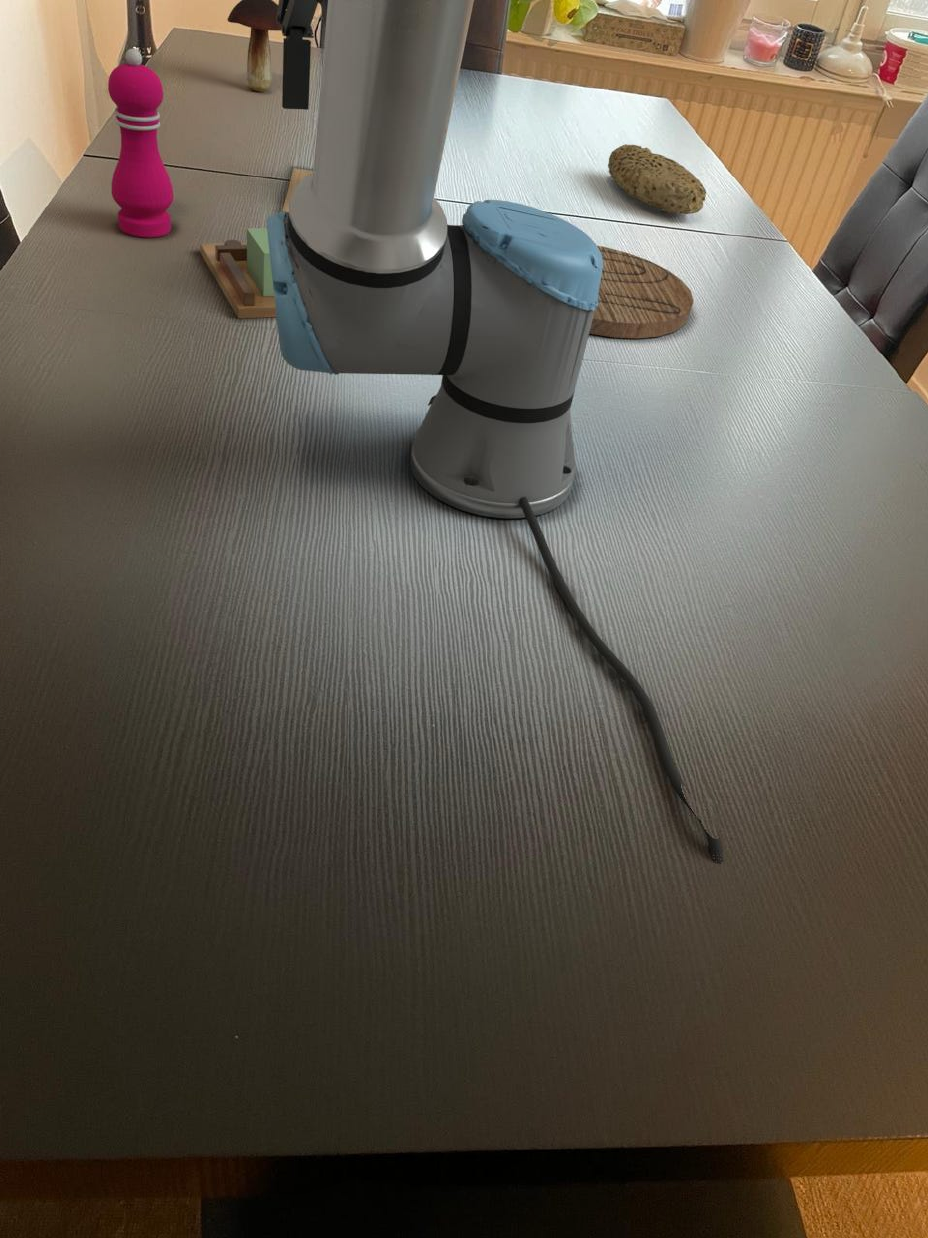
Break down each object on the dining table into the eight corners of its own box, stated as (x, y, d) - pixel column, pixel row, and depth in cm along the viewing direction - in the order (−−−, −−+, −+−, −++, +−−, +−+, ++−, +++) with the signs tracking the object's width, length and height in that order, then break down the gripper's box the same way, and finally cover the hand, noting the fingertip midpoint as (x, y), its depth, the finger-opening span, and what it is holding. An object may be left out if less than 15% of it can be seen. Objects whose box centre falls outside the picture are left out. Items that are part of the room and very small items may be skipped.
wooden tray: (358, 312, 114) (360, 290, 112) (238, 318, 108) (238, 295, 107) (311, 250, 126) (311, 229, 124) (200, 253, 120) (199, 230, 118)
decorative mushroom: (216, 83, 176) (214, -15, 167) (268, 80, 183) (269, -14, 173) (251, 101, 171) (251, 1, 161) (303, 98, 177) (306, 1, 168)
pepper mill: (160, 244, 120) (149, 61, 107) (103, 231, 121) (86, 47, 108) (184, 225, 126) (177, 49, 113) (130, 213, 126) (117, 36, 113)
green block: (322, 294, 113) (325, 251, 110) (263, 296, 111) (263, 252, 107) (304, 269, 118) (306, 227, 115) (246, 271, 115) (246, 227, 112)
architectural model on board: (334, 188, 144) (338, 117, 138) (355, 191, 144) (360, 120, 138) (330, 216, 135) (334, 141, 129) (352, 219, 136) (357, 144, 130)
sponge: (594, 184, 167) (629, 199, 150) (610, 135, 164) (649, 145, 147) (662, 207, 171) (705, 225, 154) (680, 160, 167) (725, 172, 150)
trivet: (710, 347, 120) (715, 333, 119) (510, 325, 117) (512, 310, 115) (665, 267, 139) (669, 253, 138) (491, 245, 135) (493, 232, 134)
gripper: (246, -151, 95) (246, 92, 108) (333, -116, 78) (321, 165, 92) (320, -141, 98) (311, 94, 111) (419, -104, 81) (395, 166, 95)
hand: (315, 127), depth 102 cm, fingers open, 13 cm apart
